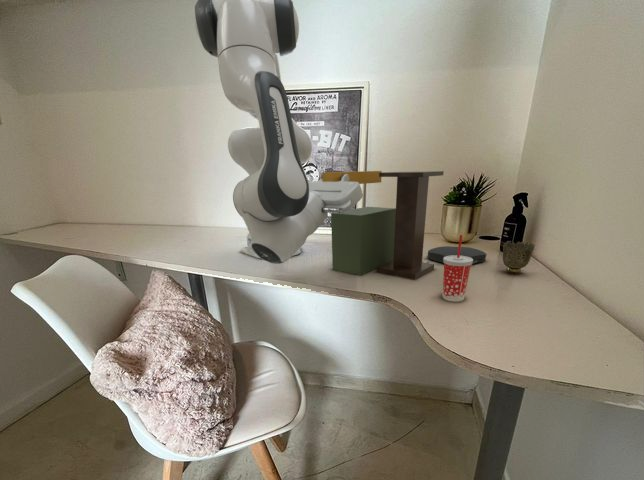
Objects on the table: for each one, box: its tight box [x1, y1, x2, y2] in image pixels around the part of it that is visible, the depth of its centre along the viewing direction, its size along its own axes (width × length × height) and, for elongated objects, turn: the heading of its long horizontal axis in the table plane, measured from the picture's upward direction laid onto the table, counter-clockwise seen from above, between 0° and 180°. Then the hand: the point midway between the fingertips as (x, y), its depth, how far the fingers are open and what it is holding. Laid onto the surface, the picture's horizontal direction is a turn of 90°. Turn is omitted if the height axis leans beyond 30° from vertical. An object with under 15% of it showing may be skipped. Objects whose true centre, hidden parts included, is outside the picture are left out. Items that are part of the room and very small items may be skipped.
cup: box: [502, 240, 536, 275], centre depth 90 cm, size 8×7×8 cm
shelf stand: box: [376, 170, 444, 281], centre depth 90 cm, size 12×12×26 cm
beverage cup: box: [442, 234, 473, 303], centre depth 72 cm, size 6×6×14 cm
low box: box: [330, 206, 396, 276], centre depth 98 cm, size 10×18×16 cm, turn 142°
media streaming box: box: [427, 245, 487, 265], centre depth 105 cm, size 15×15×3 cm
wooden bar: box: [321, 170, 383, 185], centre depth 88 cm, size 3×22×3 cm, turn 141°
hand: (339, 176), depth 83 cm, fingers closed on wooden bar, 3 cm apart
